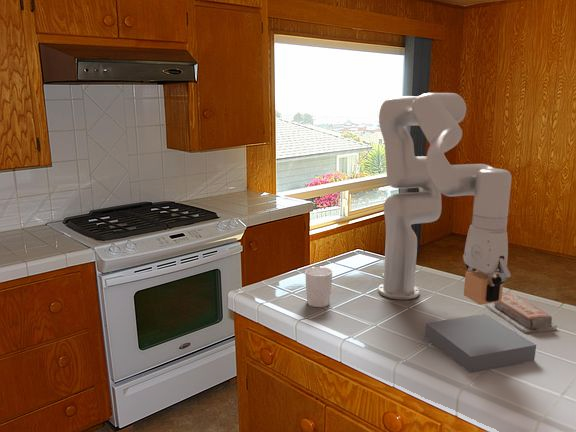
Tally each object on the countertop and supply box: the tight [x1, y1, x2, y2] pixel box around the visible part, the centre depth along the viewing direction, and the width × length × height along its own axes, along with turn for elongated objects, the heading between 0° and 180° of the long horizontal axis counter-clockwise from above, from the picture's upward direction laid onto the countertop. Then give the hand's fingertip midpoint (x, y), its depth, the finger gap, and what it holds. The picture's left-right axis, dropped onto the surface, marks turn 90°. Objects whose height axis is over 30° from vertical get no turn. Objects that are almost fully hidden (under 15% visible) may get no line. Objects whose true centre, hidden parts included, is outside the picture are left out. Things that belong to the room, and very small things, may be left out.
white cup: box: [305, 266, 333, 308], centre depth 151 cm, size 8×8×10 cm
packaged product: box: [485, 292, 558, 334], centre depth 142 cm, size 18×5×10 cm
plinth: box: [424, 313, 537, 374], centre depth 125 cm, size 18×18×4 cm
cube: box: [463, 270, 504, 305], centre depth 121 cm, size 6×6×6 cm
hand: (482, 295), depth 122 cm, fingers closed on cube, 6 cm apart
